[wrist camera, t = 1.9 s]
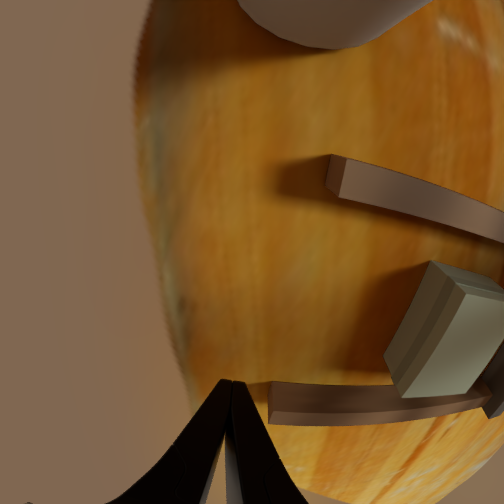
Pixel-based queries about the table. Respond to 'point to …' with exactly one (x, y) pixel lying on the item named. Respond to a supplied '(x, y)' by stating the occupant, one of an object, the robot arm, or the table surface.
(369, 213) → the table surface
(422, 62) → the table surface
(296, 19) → the can
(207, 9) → the table surface
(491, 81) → the table surface
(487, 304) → the block
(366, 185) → the bay
